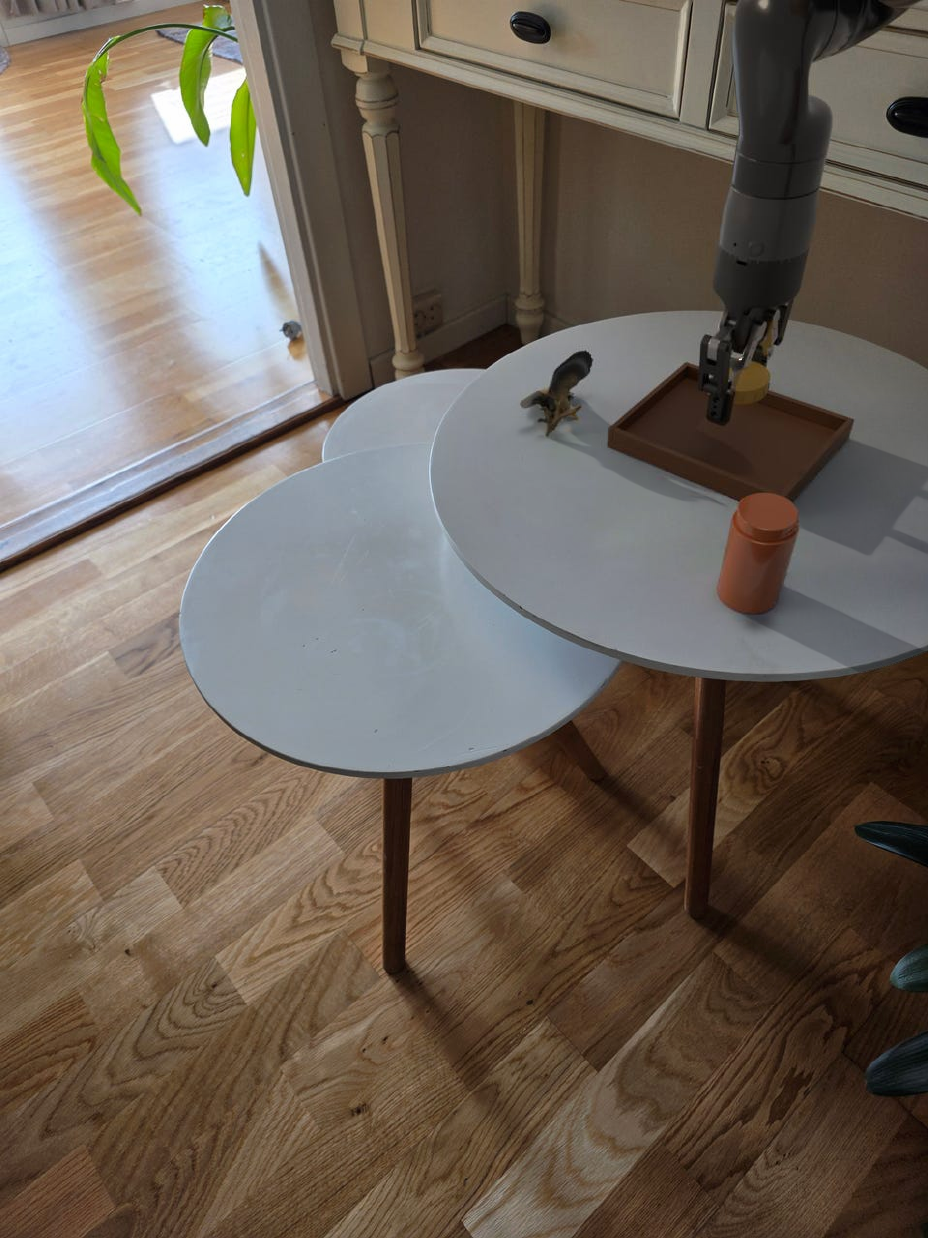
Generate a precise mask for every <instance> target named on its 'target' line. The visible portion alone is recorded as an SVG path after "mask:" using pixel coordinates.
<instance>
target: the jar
mask: <svg viewBox="0 0 928 1238" xmlns="http://www.w3.org/2000/svg"><path fill="white" fill-rule="evenodd" d="M799 522H800V519H799V510H798V508H797V506H796V505H795V504H794V502H791V501H790V500H788V499H786V498H785V497H782V496H780V495H777V494H772V493H756V494H752V495H749V496H746V497H745V498H743V499H741V500H740V501H738V502H737V508H736V510H735V511H734V512H733V514H732V516H731V520H730V525H729V529H728V533H727V539H726V544H725V549H724V552H723V557H722V563H721V567H720V572H719V577H718V582H717V587H716V588H717V589H716V590H717V596H718V597H719V599H720V601H721V602H722V603H723V604H724V605H725V606H727V607H728V608H729V609H731V610H733V611H736V612H739V613H742V614H747V615H759V614H763V613H766V612H769V611H771V610H772V609H774V608H775V607H776V606H777V605H778V604H779V601H780V597H781V594H782V590H783V587H784V584H785V581H786V577H787V574H788V569H789V566H790V563H791V560H792V556H793V552H794V548H795V545H796V541H797V538H798V535H799V532H800V523H799Z"/></svg>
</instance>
